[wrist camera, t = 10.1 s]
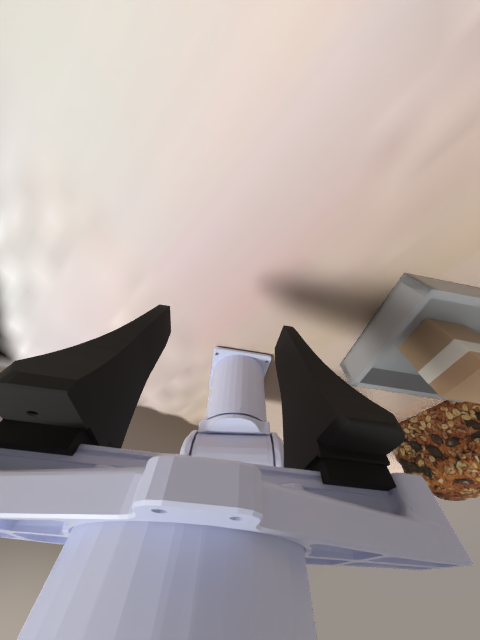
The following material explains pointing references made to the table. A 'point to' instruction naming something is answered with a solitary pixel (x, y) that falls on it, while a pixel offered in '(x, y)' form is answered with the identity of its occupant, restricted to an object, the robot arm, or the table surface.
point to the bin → (407, 333)
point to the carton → (446, 358)
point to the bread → (444, 449)
